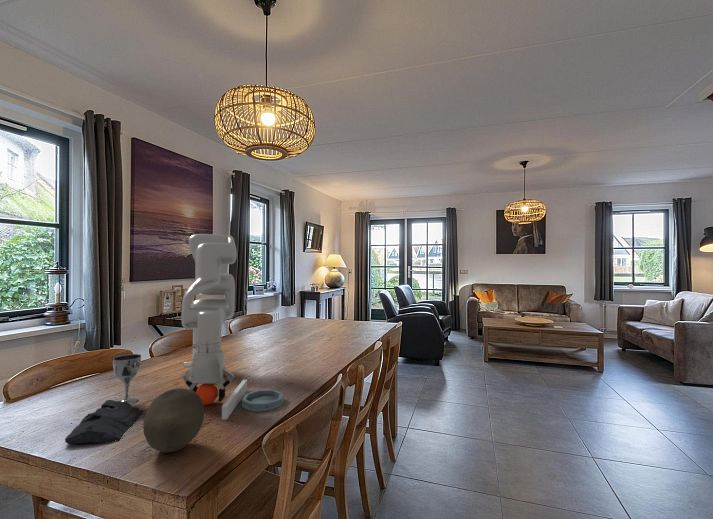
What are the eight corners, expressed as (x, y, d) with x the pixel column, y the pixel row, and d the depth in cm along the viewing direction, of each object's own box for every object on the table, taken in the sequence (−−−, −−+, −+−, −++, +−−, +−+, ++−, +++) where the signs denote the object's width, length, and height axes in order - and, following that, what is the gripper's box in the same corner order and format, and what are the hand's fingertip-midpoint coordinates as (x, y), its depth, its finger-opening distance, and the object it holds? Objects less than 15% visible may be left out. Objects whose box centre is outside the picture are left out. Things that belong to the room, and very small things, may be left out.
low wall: (221, 419, 105) (221, 406, 105) (242, 390, 129) (243, 379, 129) (226, 419, 105) (227, 406, 105) (246, 390, 129) (247, 379, 129)
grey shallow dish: (236, 412, 110) (236, 404, 110) (247, 395, 124) (247, 389, 124) (280, 411, 111) (280, 404, 111) (286, 395, 125) (286, 388, 125)
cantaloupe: (127, 459, 84) (128, 396, 84) (176, 432, 97) (177, 378, 97) (171, 472, 78) (172, 405, 79) (217, 442, 92) (218, 385, 92)
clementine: (221, 398, 121) (221, 378, 121) (220, 406, 114) (220, 384, 114) (196, 401, 118) (196, 380, 119) (193, 409, 112) (194, 387, 112)
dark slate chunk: (50, 452, 87) (51, 433, 87) (90, 415, 108) (91, 399, 108) (121, 444, 91) (121, 425, 91) (146, 410, 112) (146, 395, 113)
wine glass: (145, 398, 120) (146, 355, 120) (123, 407, 113) (124, 361, 113) (129, 395, 123) (129, 353, 123) (106, 404, 115) (107, 358, 115)
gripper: (177, 350, 112) (176, 405, 112) (232, 350, 113) (231, 404, 113) (187, 345, 120) (186, 396, 120) (238, 344, 121) (237, 395, 121)
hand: (208, 399), depth 116 cm, fingers closed on clementine, 8 cm apart
